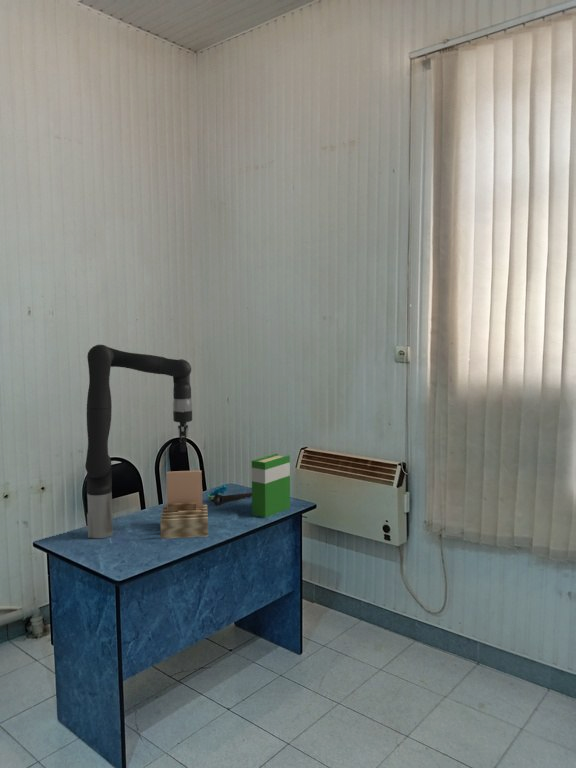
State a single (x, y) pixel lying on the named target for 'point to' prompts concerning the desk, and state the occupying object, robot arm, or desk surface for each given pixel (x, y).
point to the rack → (184, 524)
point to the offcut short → (189, 512)
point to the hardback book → (270, 485)
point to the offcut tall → (181, 507)
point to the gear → (217, 492)
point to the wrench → (228, 498)
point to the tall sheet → (184, 487)
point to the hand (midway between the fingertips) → (183, 449)
